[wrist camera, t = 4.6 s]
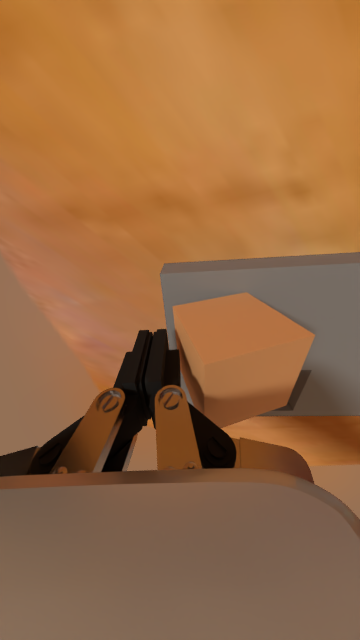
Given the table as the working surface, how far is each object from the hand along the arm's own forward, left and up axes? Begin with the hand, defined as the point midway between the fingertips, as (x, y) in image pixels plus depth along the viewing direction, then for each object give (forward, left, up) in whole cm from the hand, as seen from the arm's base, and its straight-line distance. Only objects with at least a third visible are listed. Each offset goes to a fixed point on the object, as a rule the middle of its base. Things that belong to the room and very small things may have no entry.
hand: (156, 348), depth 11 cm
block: (-4, 0, -2) cm, 4 cm away
